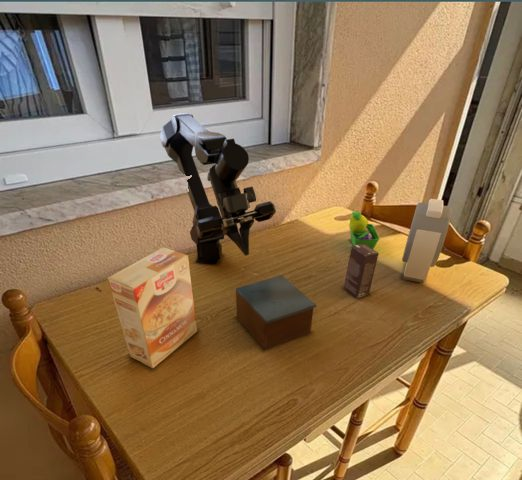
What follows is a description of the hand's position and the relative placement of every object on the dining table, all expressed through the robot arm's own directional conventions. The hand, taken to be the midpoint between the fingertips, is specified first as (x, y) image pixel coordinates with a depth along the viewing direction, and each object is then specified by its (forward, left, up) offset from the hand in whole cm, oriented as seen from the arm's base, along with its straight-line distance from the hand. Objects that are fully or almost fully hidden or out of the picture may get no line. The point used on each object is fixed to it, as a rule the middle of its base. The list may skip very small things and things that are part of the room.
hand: (247, 255), depth 90 cm
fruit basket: (+27, +37, -13) cm, 48 cm away
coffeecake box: (-14, -22, -13) cm, 29 cm away
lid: (+9, -10, -5) cm, 14 cm away
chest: (+9, -10, -12) cm, 18 cm away
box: (+27, +10, -13) cm, 32 cm away
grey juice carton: (+43, +24, -13) cm, 51 cm away
